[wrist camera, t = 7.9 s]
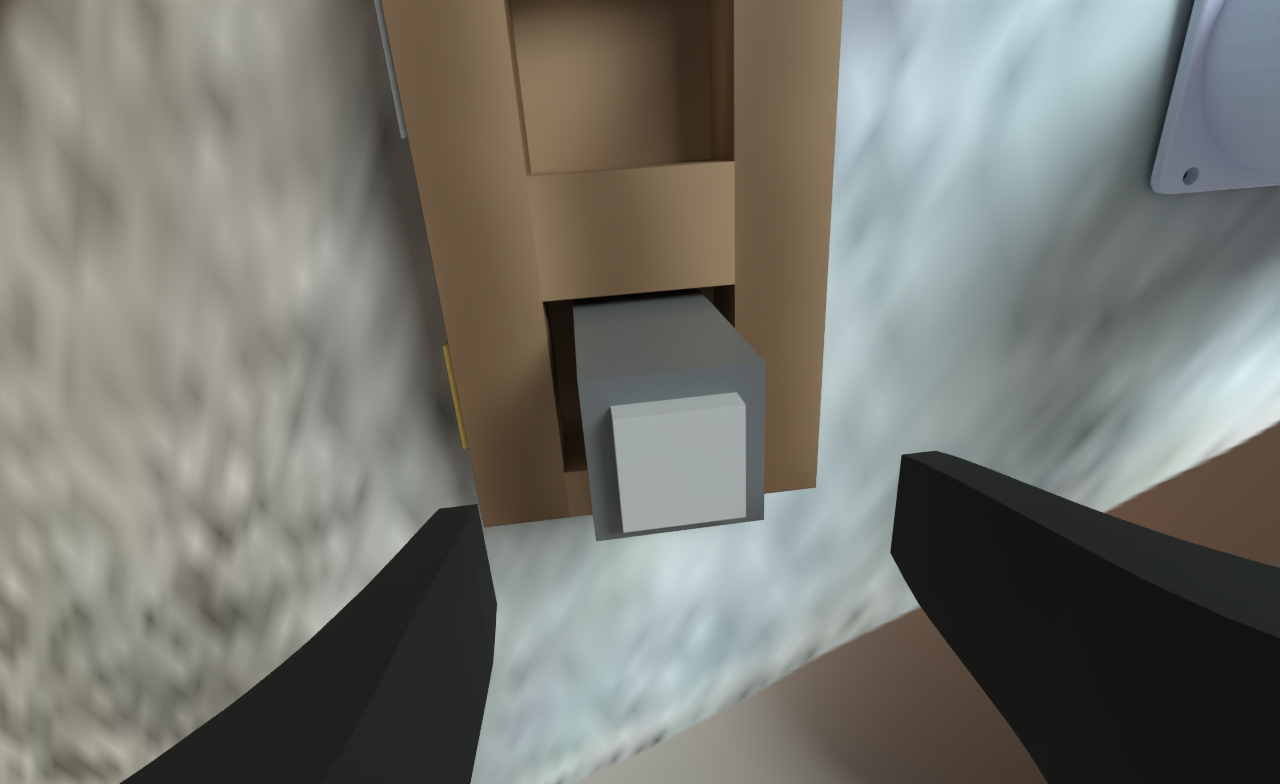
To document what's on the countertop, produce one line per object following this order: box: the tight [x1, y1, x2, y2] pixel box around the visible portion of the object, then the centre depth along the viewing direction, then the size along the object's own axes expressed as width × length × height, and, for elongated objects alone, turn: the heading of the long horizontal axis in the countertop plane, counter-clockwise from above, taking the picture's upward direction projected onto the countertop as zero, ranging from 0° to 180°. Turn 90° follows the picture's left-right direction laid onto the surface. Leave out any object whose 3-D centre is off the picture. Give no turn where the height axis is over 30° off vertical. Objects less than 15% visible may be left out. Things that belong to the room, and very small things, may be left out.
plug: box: [573, 288, 766, 541], centre depth 15 cm, size 4×4×8 cm
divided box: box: [374, 0, 843, 527], centre depth 16 cm, size 10×16×3 cm, turn 3°
